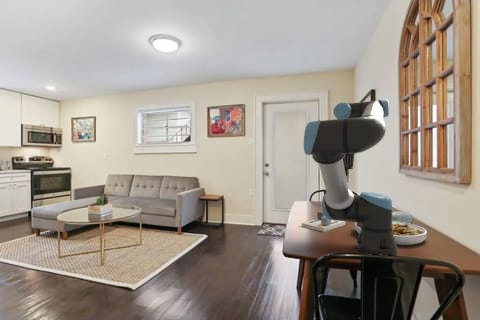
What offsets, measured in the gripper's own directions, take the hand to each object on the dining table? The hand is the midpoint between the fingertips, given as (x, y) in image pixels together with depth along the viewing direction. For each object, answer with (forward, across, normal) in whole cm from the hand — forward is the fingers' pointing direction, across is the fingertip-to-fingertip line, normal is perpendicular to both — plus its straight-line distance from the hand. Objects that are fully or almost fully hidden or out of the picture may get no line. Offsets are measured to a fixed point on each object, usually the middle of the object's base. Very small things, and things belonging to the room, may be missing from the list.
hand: (347, 182), depth 127 cm
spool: (+27, -38, +10) cm, 48 cm away
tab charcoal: (+24, -12, -22) cm, 35 cm away
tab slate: (+24, -2, -14) cm, 28 cm away
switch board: (+26, -7, -18) cm, 33 cm away
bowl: (+27, -13, +14) cm, 33 cm away
